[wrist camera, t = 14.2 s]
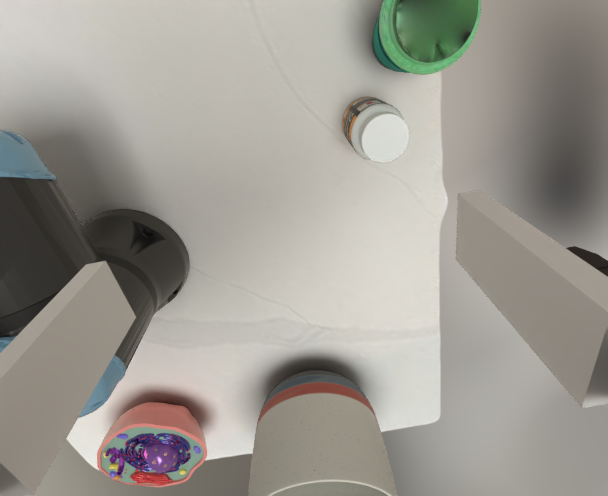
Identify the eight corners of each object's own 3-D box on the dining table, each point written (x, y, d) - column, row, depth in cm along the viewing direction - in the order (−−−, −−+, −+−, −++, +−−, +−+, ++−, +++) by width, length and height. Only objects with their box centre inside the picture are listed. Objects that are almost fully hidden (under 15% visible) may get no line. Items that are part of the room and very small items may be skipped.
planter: (343, 330, 58) (369, 461, 39) (384, 401, 67) (421, 536, 48) (237, 371, 61) (214, 509, 43) (289, 434, 71) (290, 570, 52)
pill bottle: (334, 109, 41) (346, 123, 33) (380, 87, 40) (405, 96, 32) (351, 153, 44) (366, 177, 35) (394, 133, 43) (421, 153, 34)
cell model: (93, 414, 65) (58, 477, 55) (171, 368, 60) (148, 429, 51) (160, 455, 72) (139, 519, 62) (234, 417, 67) (225, 479, 58)
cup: (362, 77, 40) (388, 85, 29) (354, -9, 36) (381, -36, 25) (433, 63, 39) (486, 65, 29) (432, -27, 35) (494, -62, 25)
